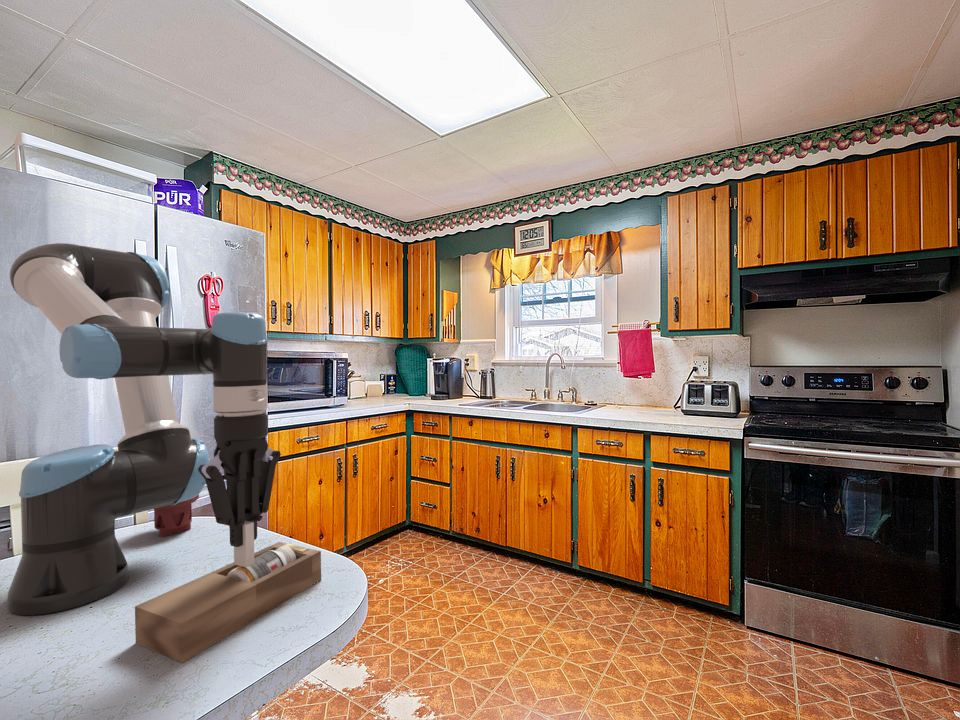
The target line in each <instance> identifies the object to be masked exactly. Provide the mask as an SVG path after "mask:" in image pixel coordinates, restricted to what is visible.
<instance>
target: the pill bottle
mask: <svg viewBox="0 0 960 720" xmlns="http://www.w3.org/2000/svg"><path fill="white" fill-rule="evenodd" d="M295 560H297V559H296V555H295V553H294V552H293V550H292V549H291V548H289V547H287V546H282V547H280V548H278V549H276V550H275V551H274V550H270V551H267V552H265V553H263V554H261V555H259V556H257V557H255V558H254V564H253V565H250V566H248V567H242V566H239V567H237V568H235V569H233V570H232V571H230V572H229V573H228V575H227V577H230V578H234V579H237V580H241V581H245V582H248V583H252V582H254V581H256V580H258V579H260V578H262V577H264V576H265V575H267V574H269V573H271V572H273V571H275V570H277V569H279V568H281V567H283V566H285V565H287V564H289V563H291V562H293V561H295Z"/></svg>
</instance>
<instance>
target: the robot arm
mask: <svg viewBox="0 0 960 720" xmlns="http://www.w3.org/2000/svg"><path fill="white" fill-rule="evenodd" d="M9 280H10V284H11V286H12V288H13V290H14V292H15V293H16V294H17V296H18V297H19V298H20V299H22V301H24V302H25V303H27V304H29V305H31V306H33V307H35V308H38V309H39V310H40V311H41V312H42V313H43V315H44V316H45V317H46V318H47V319H48V321H49V322H50V323H51V324H52V326H54V327H55V328H56V330H57V331H58V332H59V333H60V334H61V336H60V339H59V359H60V362H61V364H62V369H63V371H64V373H65V374H66V375H68V376H69V377H71V378H74V379H95V380H107V379H108V380H109V379H114V381H115V387H116V392H117V397H118V401H119V406H120V411H121V417H122V422H123V427H124V435H123V436H122V437H121V439H120V440H119V441H118V442H117V449H118V450H115V449H114V448H113V446H112V445H110V444H104V443H103V444H92V445H87V446H79V447H78V446H77V447H73V448H68V449H63V450H60V451H56V452H53V453H50V454H46V455H43V456H41V457H37V458H35V459H34V460H31V461H30V462H29V463H27V464H26V465H25V466H24V467H23V469H22V471H21V478H20V487H19V492H18V497H20V512H21V515H20V516H21V518H20V519H21V521H20V522H21V546H22V547H21V549H22V550H21V558H20V561H19V562H18V563H19V564H18V566H17V569H16V570H15V574H14V576H13V579H12V581H11V584H10V586H9V589H8V592H7V610H8V611H9V613H11V614H14V615H19V616H20V615H21V616H36V615H44V614H45V615H46V614H51V613H58V612H61V611H66V610H70V609H74V608H77V607H80V606H85V605H86V604H89V603H92V602H95V601H97V600H100V599H102V598H104V597H106V596H108V595H110V594H112V593H114V592H116V591H117V590H119V589H121V588H122V587H123V586H124V585H125V584H126V583H127V581H128V580H129V564H128V562H127V559H126V557H125V555H124V553H123V551H122V548H121V547H120V544H119V542H118V540H117V538H116V533H115V532H116V531H115V530H116V529H115V526H116V524H115V523H116V519H119V518H122V517H126V516H129V515H133V514H138V513H143V512H145V511H146V512H147V511H150V510H154V509H155V508H159V507H163V506H167V505H175V504H177V503H179V502H182V501H186V500H189V499H192V498H194V497H196V496H197V495H198V494H199V495H200V494H201V492H202V491H203V490H204V488H205V486H206V488H207V492H208V495H209V499H210V502H211V506H212V510H213V514H214V518H215V522H216V523H217V524H220V525H224V526H229V544H230V546H231V547H233V562H234V564H235V565H238V566H242V567H248V566H250V565H253V564H254V553H255V541H256V540H257V538H258V522H260V521H262V519H263V515H262V514H263V513H264V514H265V513H267V512H268V511H269V510H270V509H269V508H270V503H271V501H270V500H271V496H272V490H273V484H274V480H275V478H274V477H275V473H276V466H277V464H278V462H279V460H280V457H281V455H282V454H281V451H279V450H274V449H272V448H270V447H269V443H268V441H267V438H266V437H267V436H268V434H269V414H267V413H266V412H264V411H266V410H267V409H268V402H269V401H268V399H269V398H268V397H269V396H268V342H269V341H268V340H269V338H268V336H267V326H266V319H265V318H264V317H263V316H262V315H260V314H258V313H251V312H220V313H216V314H215V315H213V317H212V319H211V320H212V321H211V327H210V328H190V327H189V328H186V327H181V328H180V327H159V326H157V321H156V319H157V317H158V316H159V315H160V314H161V313H162V311H163V310H162V309H163V308H164V307H165V306H166V305H167V303H168V301H169V296H170V292H169V289H170V283H169V282H170V281H169V278H168V274H167V273H166V270H165V269H164V266H162V264H161V263H160V262H159V261H158V259H155V258H154V257H152V256H149V255H145V254H139V253H137V252H134V251H127V252H125V251H118V250H113V249H112V250H111V249H107V248H106V249H104V248H99V247H91V246H87V245H78V244H75V243H74V244H73V243H65V242H63V243H62V242H60V243H59V242H58V243H57V242H55V243H47V244H43V245H39V246H36V247H34V248H33V247H32V248H31V249H28V250H26V251H25V252H23V253H22V254H20V255H19V256H18V257H17V258H16V259H15V260H14V261H13V263H12V265H11V267H10V270H9ZM187 375H188V376H189V375H191V376H192V375H194V376H195V375H203V376H204V375H212V377H213V378H212V379H213V380H212V381H213V382H212V385H213V389H212V390H213V391H212V392H213V393H212V395H213V396H212V397H213V398H212V399H213V401H212V402H213V404H212V405H213V406H212V407H213V408H212V409H213V412H214V413H217V415H216V416H214V417H213V433H214V434H213V437H214V439H215V443H216V446H215V450H214V452H213V458H212V459H210V455H209V450H208V448H207V445H206V444H205V443H204V442H203V440H201V439H197V438H192V437H191V432H190V429H189V427H187V426H185V425H184V424H181V423H179V421H178V420H179V419H178V417H177V415H178V414H177V410H176V406H175V403H174V397H173V393H172V389H171V384H170V379H169V376H187ZM222 473H223V474H222ZM225 482H226V483H225Z"/></svg>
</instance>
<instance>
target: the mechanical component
mask: <svg viewBox="0 0 960 720" xmlns="http://www.w3.org/2000/svg"><path fill="white" fill-rule="evenodd" d="M199 499H200V493H199V494H198V495H197V496H196V497H194V498H192V499H189V500H186V501H182V502H179V503H177V504H175V505H167V506H163V507H159V508H155V509H153V515H154V516H153V517H154V518H153V519H154V521H153V522H154V529H156V530H157V531H159V534H158V535H159V537H161V538H162V537H167V536H170V535H172V534H173V535H174V534H175V533H181V532H185V531H186V532H187V531H190V530H191V529H192V527H191V526H192V522H193V519H192V516H193V515H192V512H193V511H192V506H193V505H192V504H193V503H194V502H196V501H197V500H199Z"/></svg>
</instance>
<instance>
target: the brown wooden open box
mask: <svg viewBox="0 0 960 720" xmlns="http://www.w3.org/2000/svg"><path fill="white" fill-rule="evenodd" d="M282 546H287V547H289V548H291V549H292V550H293V552H294V553H295V555H296V559H297V560H295V561H293V562H291V563H289V564H287V565H285V566H283V567H281V568H279V569H277V570H275V571H273V572H271V573H269V574H267V575H265V576H264V577H262V578H260V579H258V580H256V581H254V582H252V583H248V582H245V581H241V580H237V579H234V578H230V577H227V575H228V573H229V572H230V571H232V570H233V569H235V568H237V567H239V566H238V565H235V564H234V561H233V562H231V563H229V564H227V565H225V566H222V567H221V568H218V569H216V570H212V571H211V572H209V573H207V574H205V575H202V576H200V577H198V578H195V579H194V580H190V581H189V582H186V583H184V584H182V585H180V586H178V587H175V588H173V589H170V590H169V591H166V592H163V593H162V594H160V595H157V596H155V597H153V598H151V599H148V600H146V601H143V602H142V603H139V604H137V605H135V606H134V621H135V622H134V626H135V627H134V628H135V629H134V630H135V644H137V645H140V646H142V647H144V648H147V649H149V650H150V651H154V652H156V653H158V654H161V655H163V656H165V657H167V658H170V659H172V660H175V661H176V662H180V663H184V662H186V661H189V659H190V658H193V657H194V656H196V655H198V654H199V653H201V652H202V651H204V650H206V649H208V648H210V647H211V646H213V645H214V644H216V643H218V642H220V641H222V640H223V639H225V638H227V637H228V636H230V635H231V634H233V633H235V632H236V631H238V630H240V629H242V628H243V627H245V626H247V625H249V624H250V623H252V622H253V621H255V620H256V619H258V618H259V617H261V616H263V615H265V614H267V613H268V612H270V611H271V610H274V609H275V608H277V607H278V606H280V605H281V604H283V603H285V602H287V601H288V600H290V599H292V598H293V597H295V596H297V595H299V594H300V593H302V592H303V591H306V590H307V589H309V588H310V587H312V586H314V585H315V584H317V583H318V582H317V581H319V580H320V581H322V551H321V550H316V549H312V548H309V547H304V546H300V545H296V544H292V543H286V542H281V541H279V542H276V543H274V544H272V545H269V546H267V547H264V548H263V549H261V550H258V551H256V552H254V558H255V557H257V556H259V555H261V554H263V553H265V552H267V551H270V550H274V551H275V550H276V549H278V548H280V547H282ZM320 581H319V582H320ZM316 582H317V583H316ZM314 583H315V584H314ZM313 584H314V585H313Z"/></svg>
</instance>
